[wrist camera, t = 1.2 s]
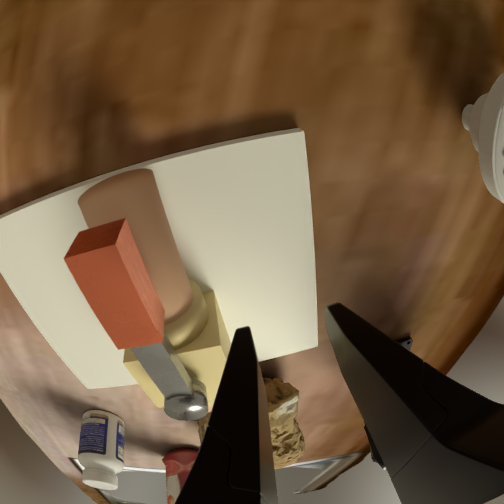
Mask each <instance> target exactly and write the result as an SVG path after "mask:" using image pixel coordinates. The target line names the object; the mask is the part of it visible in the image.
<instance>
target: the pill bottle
mask: <svg viewBox="0 0 504 504" xmlns="http://www.w3.org/2000/svg"><path fill="white" fill-rule="evenodd" d="M124 429H125V425H124V422H123V420H122V419H121V418H119V417H118V416H116V415H114V414H112V413H109V412H106V411H101V410H90V411H87V412H85V413H84V414H83V417H82V424H81V432H80V442H79V452H78V460H79V462H80V464H81V465H82V466H83V467H85V469H84V470H83V476H82V481H83V483H85V484H86V485H89V486H91V487H95V488H99V489H105V490H116V489H117V488H118V477H117V476H116V473H119V472H121V471H122V470H123V465H124Z"/></svg>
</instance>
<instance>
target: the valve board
mask: <svg viewBox="0 0 504 504" xmlns="http://www.w3.org/2000/svg"><path fill="white" fill-rule="evenodd" d="M123 218H126V220H127V223H128V225H129V228H130V230H131V233H132V236H133V238H134V241H135V243H136V246H137V248H138V250H139V253H140V255H141V258H142V260H143V262H144V265H145V267H146V270H147V272H148V274H149V276H150V279H151V281H152V283H153V286H154V288H155V290H156V292H157V295H158V297H159V299H160V301H161V303H162V305H163V308H164V310H165V318H164V331H165V333H166V335H167V337H168V339H169V340H170V342H171V344H172V346H173V348H174V350H175V352H176V353H177V355H178V357H179V359H180V361H181V363H182V364H183V366H184V368H185V370H186V371H187V373H188V375H189V377H190V378H193V379H197V380H199V381H201V382H202V383H204V384H205V386H206V391H207V401H208V412H211V410H212V407H213V404H214V400H215V397H216V394H217V390H218V387H219V384H220V380H221V377H222V374H223V370H224V367H225V364H226V360H227V357H228V354H229V350H230V347H231V343H232V340H233V337H234V333H235V331H236V329H237V328H241V327H245V326H249V327H250V329H251V333H252V336H253V340H254V344H255V348H256V352H257V357H258V361H259V362H260V361H264V360H268V359H272V358H276V357H280V356H284V355H288V354H292V353H295V352H299V351H303V350H306V349H310V348H313V347H317V346H318V324H317V293H316V270H315V252H314V236H313V221H312V208H311V196H310V184H309V173H308V163H307V154H306V144H305V135H304V131H303V130H301V129H300V128H294V129H288V130H282V131H276V132H270V133H264V134H259V135H254V136H248V137H243V138H238V139H234V140H229V141H224V142H220V143H215V144H211V145H206V146H202V147H198V148H194V149H190V150H186V151H182V152H178V153H174V154H170V155H166V156H163V157H159V158H155V159H152V160H148V161H145V162H142V163H138V164H135V165H131V166H128V167H125V168H122V169H119V170H115V171H112V172H109V173H106V174H103V175H100V176H97V177H94V178H91V179H88V180H86V181H83V182H80V183H77V184H74V185H72V186H69V187H66V188H64V189H61V190H58V191H56V192H53V193H51V194H48V195H46V196H43V197H41V198H38V199H36V200H33V201H31V202H29V203H26V204H24V205H22V206H19V207H17V208H15V209H12V210H10V211H8V212H6V213H4V214H1V215H0V272H1V274H2V275H3V277H4V279H5V280H6V282H7V284H8V285H9V287H10V289H11V290H12V292H13V293H14V295H15V296H16V298H17V299H18V301H19V302H20V304H21V305H22V307H23V308H24V310H25V311H26V313H27V314H28V316H29V317H30V319H31V320H32V321H33V323H34V324H35V326H36V327H37V328H38V330H39V331H40V332H41V334H42V335H43V336H44V338H45V339H46V340H47V342H48V343H49V344H50V345H51V347H52V348H53V349H54V350H55V352H56V353H57V354H58V355H59V357H60V358H61V359H62V360H63V361H64V363H65V364H66V365H67V366H68V367H69V368H70V370H71V371H72V372H73V373H74V374H75V375H76V376H77V378H78V379H79V380H80V381H81V382H82V383H83V384H84V385H85V386H86V387H87V389H95V388H106V387H115V386H124V385H133V384H139V385H140V386H141V387H142V389H143V390H144V391H145V392H146V394H147V395H148V396H149V397H150V399H151V400H152V401H153V402H154V403H155V405H156V406H157V407H158V408H161V407H164V395H163V394H162V393H161V391H160V390H159V389H158V387H157V386H156V385H155V383H154V382H153V381H152V379H151V378H150V376H149V375H148V374H147V372H146V371H145V369H144V368H143V366H142V365H141V363H140V362H139V361H138V359H137V358H136V356H135V355H134V353H133V352H132V350H131V349H130V348H127V349H121V350H118V349H117V347H116V346H115V344H114V343H113V341H112V340H111V338H110V337H109V335H108V334H107V332H106V331H105V329H104V328H103V326H102V325H101V323H100V322H99V320H98V318H97V317H96V315H95V314H94V312H93V310H92V309H91V307H90V305H89V304H88V302H87V300H86V299H85V297H84V295H83V293H82V292H81V290H80V288H79V286H78V285H77V283H76V281H75V279H74V278H73V276H72V274H71V272H70V270H69V268H68V266H67V265H66V263H65V261H64V257H65V255H66V253H67V252H68V250H69V248H70V246H71V244H72V243H73V241H74V239H75V237H76V236H77V234H78V232H80V231H83V230H86V229H89V228H93V227H96V226H99V225H103V224H106V223H109V222H113V221H116V220H120V219H123Z"/></svg>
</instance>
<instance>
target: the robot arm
mask: <svg viewBox="0 0 504 504" xmlns="http://www.w3.org/2000/svg"><path fill="white" fill-rule="evenodd" d="M326 329H327V332H328V335H329V338H330V341H331V344H332V347H333V350H334V353H335V356H336V358H337V361H338V364H339V367H340V370H341V373H342V375H343V377H344V379H345V381H346V383H347V385H348V388H349V390H350V392H351V394H352V396H353V398H354V400H355V402H356V404H357V406H358V409H359V411H360V413H361V415H362V417H363V419H364V422H365V426H364V429H365V431H366V433H367V436H368V440H369V444H370V450H371V456H372V459H373V461H374V462H376V463H378V464H379V465H380V466H381V467H382V468H383V469H384V470H387V471H388V473H389V476H390V478H392V479H391V480H392V483H393V485H394V487H395V489H396V492H397V494H398V496H399V498H400V501H401V503H402V504H504V405H503V404H499V403H497V402H494V401H492V400H490V399H488V398H486V397H484V396H482V395H480V394H478V393H476V392H474V391H473V390H470V389H469V388H467V387H465V386H463V385H461V384H459V383H458V382H456V381H454V380H452V379H451V378H449V377H447V376H446V375H444V374H443V373H441V372H440V371H438V370H437V369H435V368H433V367H432V366H431V365H429V364H428V363H426V362H424V363H423V360H422V359H420V358H419V357H418V356H416V355H415V354H413V353H412V352H410V351H409V350H410V347H411V344H412V341H413V340H412V338H411V337H407V338H405V339H402V340H400V341H397V342H396V341H394V340H393V339H392V338H390V337H389V336H387V335H386V334H384V333H383V332H381V331H380V330H379V329H377V328H376V327H374V326H373V325H371V324H370V323H368V322H367V321H365V320H364V319H363V318H361V317H360V316H358V315H357V314H355V313H354V312H352V311H351V310H349V309H348V308H347V307H345V306H344V305H342V304H341V303H334V304H331V305H328V306H327V307H326ZM207 425H208V426H207V427H206V430H205V433H204V436H203V440H202V442H201V445H200V448H199V451H198V454H197V456H196V459H195V461H194V463H193V466H192V468H191V470H190V472H189V474H188V477H187V479H186V481H185V483H184V485H183V487H182V489H181V491H180V493H179V495H178V497H177V499H176V501H175V503H174V504H278V497H277V488H276V479H275V469H274V460H273V450H272V441H271V432H270V422H269V413H268V404H267V396H266V390H265V385H264V381H263V377H262V373H261V369H260V365H259V361H258V357H257V352H256V348H255V344H254V340H253V336H252V333H251V329H250V327H249V326H245V327H241V328H237V329H236V331H235V333H234V337H233V340H232V343H231V347H230V350H229V354H228V357H227V360H226V364H225V367H224V370H223V374H222V377H221V380H220V384H219V387H218V390H217V394H216V397H215V400H214V404H213V407H212V410H211V414H210V417H209V420H208V424H207Z"/></svg>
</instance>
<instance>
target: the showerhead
mask: <svg viewBox="0 0 504 504" xmlns="http://www.w3.org/2000/svg"><path fill="white" fill-rule="evenodd" d="M462 124H463V126H464V128H465V129H466V130H468V131H470V136H471V141H472V143H473V145H474V147H475V149H476V150H477V151H478V152H479V164H480V169H481V174H482V177H483V180H484V183H485V185H486V187H487V189H488V190H489V192H490V193H491V194H492V195H493V196H494V197H496V198H497V199H498V200H500V201H501V202H502V203H504V73H502V74H501V75H500V76H499V77H498V78H497V80H496V81H495V83H494V84H493V86H492V88H491V89H490V91H489V93H486V94H484V95H482V96H480V97H479V98H478V100H477V101H476V102H475V104H474V105H472V104H468V105H467V106H465V108H464V109H463V112H462Z"/></svg>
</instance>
